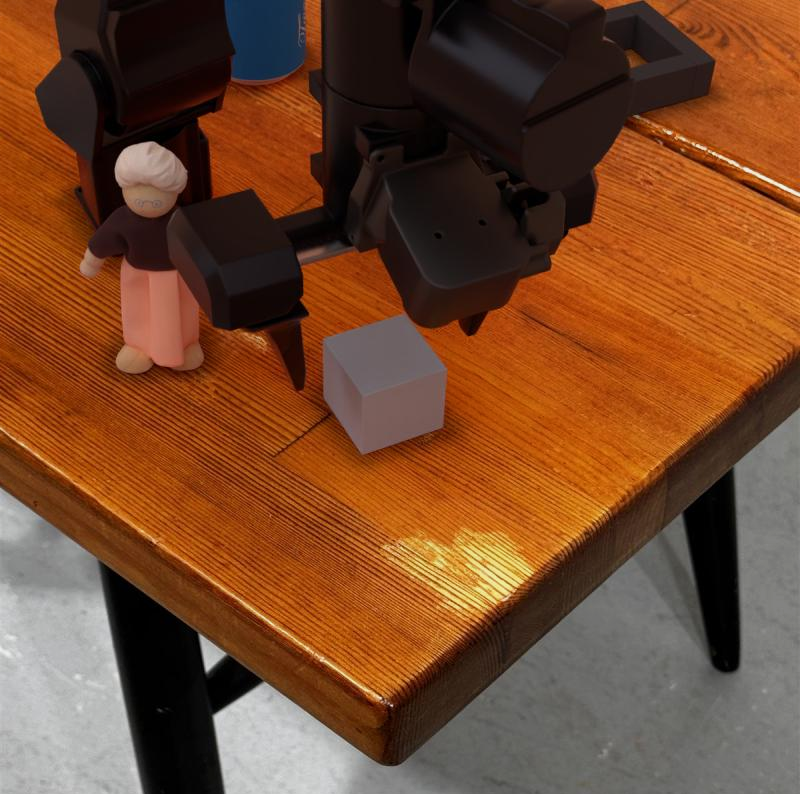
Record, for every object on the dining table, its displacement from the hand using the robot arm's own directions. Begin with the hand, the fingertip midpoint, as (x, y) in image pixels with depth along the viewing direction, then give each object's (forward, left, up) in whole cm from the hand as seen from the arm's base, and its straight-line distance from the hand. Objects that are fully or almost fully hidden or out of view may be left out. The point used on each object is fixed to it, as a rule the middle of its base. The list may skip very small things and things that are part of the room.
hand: (383, 357), depth 70 cm
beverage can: (+7, +32, -4) cm, 33 cm away
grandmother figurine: (-8, +8, -4) cm, 12 cm away
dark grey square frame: (+28, +21, -4) cm, 35 cm away
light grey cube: (0, 0, -4) cm, 4 cm away
